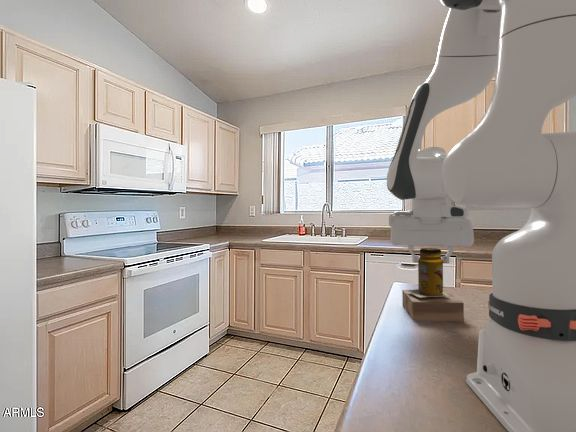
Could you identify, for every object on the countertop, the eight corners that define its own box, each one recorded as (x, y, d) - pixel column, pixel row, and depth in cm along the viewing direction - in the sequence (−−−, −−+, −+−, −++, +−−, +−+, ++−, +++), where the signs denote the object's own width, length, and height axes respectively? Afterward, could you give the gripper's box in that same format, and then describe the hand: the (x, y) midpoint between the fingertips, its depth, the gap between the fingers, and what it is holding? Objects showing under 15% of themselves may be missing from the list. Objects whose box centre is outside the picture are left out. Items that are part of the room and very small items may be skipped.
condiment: (450, 296, 84) (450, 250, 84) (419, 298, 83) (419, 251, 83) (434, 289, 91) (433, 246, 91) (405, 291, 90) (405, 247, 90)
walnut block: (463, 323, 80) (463, 302, 80) (413, 321, 82) (412, 302, 82) (446, 308, 92) (446, 290, 92) (402, 307, 94) (402, 290, 94)
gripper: (388, 211, 86) (389, 263, 86) (475, 210, 81) (476, 265, 81) (388, 211, 92) (389, 259, 93) (469, 209, 87) (469, 261, 87)
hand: (430, 262), depth 87 cm, fingers open, 6 cm apart
